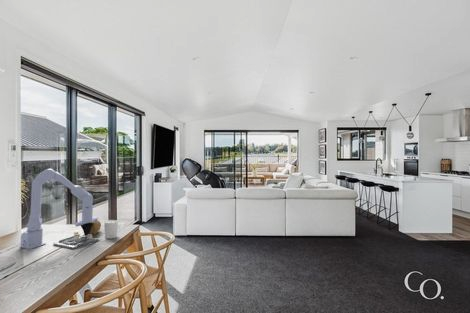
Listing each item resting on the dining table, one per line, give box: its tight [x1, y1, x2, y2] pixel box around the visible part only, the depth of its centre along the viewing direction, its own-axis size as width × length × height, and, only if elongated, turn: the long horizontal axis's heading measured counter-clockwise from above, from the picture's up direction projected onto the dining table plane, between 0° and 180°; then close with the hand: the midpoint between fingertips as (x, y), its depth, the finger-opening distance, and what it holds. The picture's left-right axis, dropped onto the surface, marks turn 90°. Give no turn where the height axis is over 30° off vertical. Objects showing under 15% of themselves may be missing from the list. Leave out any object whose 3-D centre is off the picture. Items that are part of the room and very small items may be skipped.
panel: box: [53, 231, 100, 250], centre depth 162 cm, size 17×16×5 cm
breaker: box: [73, 233, 81, 241], centre depth 162 cm, size 3×2×4 cm
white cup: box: [104, 219, 119, 239], centre depth 174 cm, size 8×8×10 cm
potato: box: [89, 220, 102, 236], centre depth 181 cm, size 9×16×9 cm, turn 17°
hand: (86, 235), depth 168 cm, fingers closed
